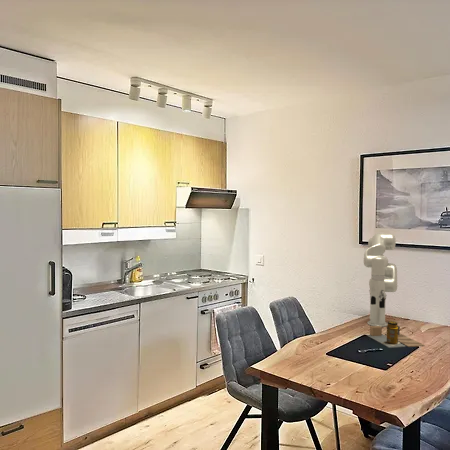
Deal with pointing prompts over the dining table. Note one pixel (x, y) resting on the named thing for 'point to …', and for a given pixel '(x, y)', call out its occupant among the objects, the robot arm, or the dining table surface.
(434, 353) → the dining table surface
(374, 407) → the dining table surface
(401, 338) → the strip empty
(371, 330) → the strip
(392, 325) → the condiment
